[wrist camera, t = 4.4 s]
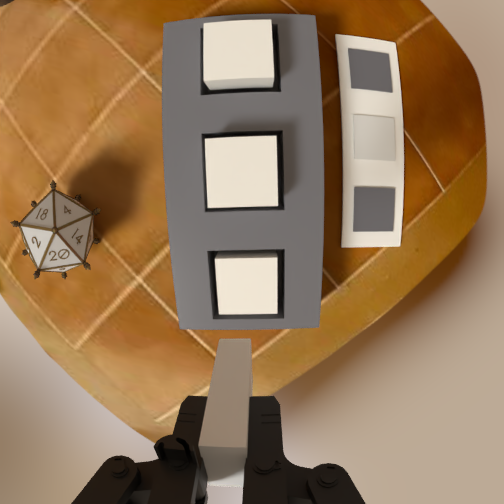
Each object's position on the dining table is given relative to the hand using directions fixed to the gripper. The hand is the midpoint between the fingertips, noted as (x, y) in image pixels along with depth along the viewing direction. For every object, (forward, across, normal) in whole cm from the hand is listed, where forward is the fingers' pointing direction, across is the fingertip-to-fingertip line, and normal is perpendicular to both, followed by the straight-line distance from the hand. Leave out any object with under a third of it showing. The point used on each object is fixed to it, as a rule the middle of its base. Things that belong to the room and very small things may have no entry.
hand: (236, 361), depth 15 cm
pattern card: (+15, +12, +12) cm, 22 cm away
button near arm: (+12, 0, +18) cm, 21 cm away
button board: (+15, 0, +8) cm, 17 cm away
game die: (+15, -17, +4) cm, 23 cm away
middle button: (+12, 0, +9) cm, 14 cm away
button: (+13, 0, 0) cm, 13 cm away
